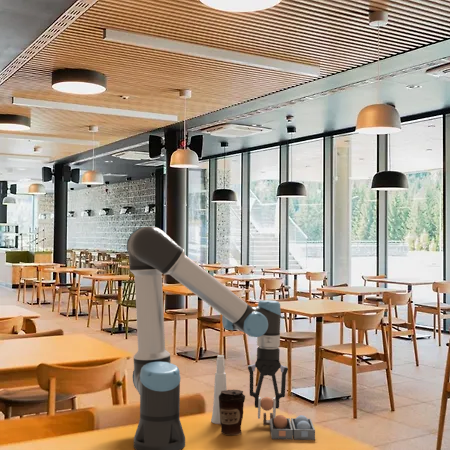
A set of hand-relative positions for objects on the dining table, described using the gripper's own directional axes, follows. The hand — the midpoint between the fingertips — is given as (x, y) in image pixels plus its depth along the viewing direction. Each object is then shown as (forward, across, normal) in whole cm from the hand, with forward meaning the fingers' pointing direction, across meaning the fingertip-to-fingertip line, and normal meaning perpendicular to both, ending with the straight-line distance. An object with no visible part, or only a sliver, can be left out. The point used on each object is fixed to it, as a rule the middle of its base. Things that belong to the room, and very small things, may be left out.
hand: (266, 417), depth 203 cm
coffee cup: (+2, -11, -11) cm, 16 cm away
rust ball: (-1, +4, -7) cm, 8 cm away
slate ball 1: (-1, +11, -7) cm, 13 cm away
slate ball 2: (-1, +11, -13) cm, 17 cm away
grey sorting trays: (+2, +8, -10) cm, 13 cm away
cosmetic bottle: (+2, -15, +1) cm, 16 cm away
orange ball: (-5, 0, 0) cm, 5 cm away
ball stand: (+2, +1, 0) cm, 2 cm away
